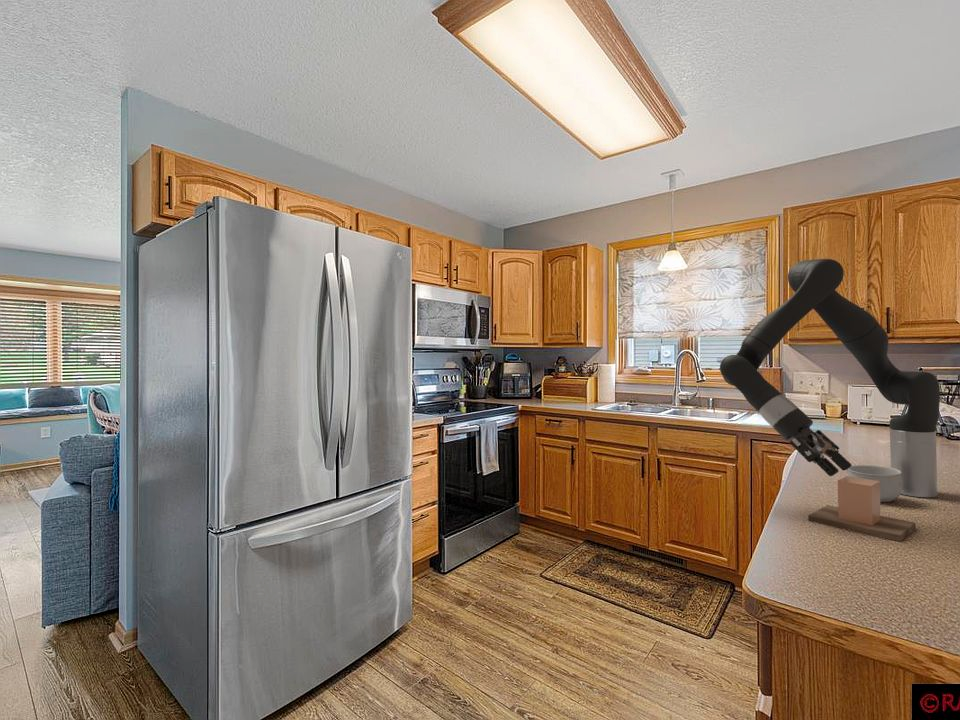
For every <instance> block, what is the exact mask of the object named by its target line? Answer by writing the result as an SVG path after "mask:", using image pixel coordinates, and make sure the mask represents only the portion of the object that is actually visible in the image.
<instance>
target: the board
mask: <svg viewBox="0 0 960 720" xmlns="http://www.w3.org/2000/svg"><path fill="white" fill-rule="evenodd" d="M807 518H808V519H807V520H808V521H810V522H815V523H817V522H818V524H822V523H823V524H822V525H826V526H831V527H836V528H839V529H843V528H845V530H848V529H850V530H849V531H852V530H854V531H853V532H856V531H858V532H857V533H861V532H862V534H865V533H866V535H869V534H870V536H874V537H878V536H879V538H883V539H888V540H891V541H898V542H901V541H902V540H903V539H904V538H906V537H907V536H908V535H909V534H910V532H911V531H912V532H913V531H914V530H915V529H916V522H914V521H908V520H903V519H898V518H894V517H889V516H883V515H881V520H879V521H878V522H877V523H875V524H874V525H868V524H863V523H859V522H854V521H849V520H845V519H840V518H839V515H838V506H834V505H829V504H828V505H826V506H824V507H821V508H819V509H818V510H816V511H814V512H812V513H810V514H808V516H807ZM912 532H911V533H912Z"/></svg>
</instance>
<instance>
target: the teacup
mask: <svg viewBox="0 0 960 720" xmlns="http://www.w3.org/2000/svg"><path fill="white" fill-rule="evenodd" d="M851 465H852V466H851V467H850V468H848V469H847V470H846V474H847V476H848V477H855V478H861V479H868V480H874V481H880V503H888V502H892V501H894V500H895V499H898V498H899V497H900V496H901V495H902V494H901V471H899V470H897V469H894V468H891V466H890V467H889V466H884V465H877V464H876V465H875V464H854V463H851Z"/></svg>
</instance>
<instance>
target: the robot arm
mask: <svg viewBox="0 0 960 720" xmlns="http://www.w3.org/2000/svg"><path fill="white" fill-rule="evenodd" d="M844 272H845V271H844V267H843V265H842V264H841V263H840V262H838V261H837V260H836V259H832V258H818V259H816V258H815V259H807V260H801V261H799V262H796V263H794V264H793V265H792V266H791V267H790V268H789V270H788V274H787V281H788V284H789V286H790V289H791V290H792V291H793V292H794V293H793V294H792V295H791V296H790V298H789V299H787V300H786V301H785V302H784V303H782V304H781V305H780V306H778V307H777V308H776V309H774V310H772V312H769V313H768V314H767V315H766V316H764V317H763V318H762V319H761V320H760V321H759V322H758V323H757V324H756V325H755V326H754V327H753V328H752V329H751V331H750V332H749V333H748V334H747V335H746V336H745V338H744V339H743V340H742V342H741V344H740V349H739V350H738V352H736V354H730V355H727V356H725V357H723V359H722V360H721V362H720V363H719V364H720V365H719V371H720V374H721V376H722V379H723V380H724V381H725V382H726V383H727V384H728V385H730V386H733V387H735V389H737V390H738V391H739V392H740V393H741V394H742V396H743V397H744V398H745V400H746V401H747V402H748V403H749V404H750V406H752V407H753V408H754V409H755V411H757V412H758V414H760V416H761V417H762V418H763V420H765V421H766V423H768V424H769V425H770V426H771V428H773V429H774V430H775V431H776V432H777V434H778V435H780V436H781V437H782V438H783V439H784V440H785V441H788V442H789V444H790V445H791V446H792V447H793V448H794V449H795V450H796V451H797V452H798V453H799V454H800V455H801V456H802V457H803V458H804V459H805V460H806V461H807V462H808V463H813V464H816V465H817V466H818V467H820V469H821V470H823V472H824V473H826V474H827V475H828V476H829V477H833V476H834V475H837V473H839V469H841V470H842V471H847V469H848V468H850V467H851V466H852V465H851V464H852V463H851V462H849V460H848V459H846V458H845V457H844V456H843V455H842V454H841V453H840V446H838V445H837V444H835V442H834V441H832V440H831V439H830V438H829V437H828V436H827V435H825V433H823V432H822V431H821V430H820V429H817V430H815V431H813V430H812V429H811V427H812V425H813V423H814V421H813V420H812V419H811V418H810V417H809V416H808V415H807V414H806V413H805V412H804V411H803V410H802V409H800V408H799V407H798V406H797V405H796V404H795V403H794V402H792V401H791V400H790V399H789V398H788V397H786V396H785V395H784V394H782V393H781V392H780V391H779V390H778V389H777V388H776V387H775V386H774V385H773V384H771V383H769V382H768V381H767V380H766V379H765V378H764V376H762V374H761V373H760V372H759V371H758V369H759V368H760V367H761V365H762V364H763V362H764V360H765V359H766V358H767V356H768V355H770V353H771V352H772V351H773V350H774V349H775V348H776V347H777V345H778V344H779V343H780V342H781V341H782V339H784V337H785V336H786V335H787V334H788V333H789V332H790V331H791V330H792V329H793V328H794V327H795V326H796V325H797V324H798V323H799V322H800V321H801V320H802V319H803V318H804V317H805V316H807V314H809V313H810V312H811V311H812V310H814V312H815V313H817V315H818V316H819V317H820V319H822V320H823V322H824V323H825V325H827V326H828V328H829V329H830V330H831V332H833V333H834V335H835V337H837V339H838V340H839V341H840V342H841V343H842V345H844V347H845V348H846V349H847V350H848V351H849V352H850V353H851V355H853V357H854V358H855V360H857V362H858V363H859V365H861V366H862V368H863V369H864V370H865V372H866V373H867V374H868V376H869V377H870V379H871V381H872V382H873V384H874V386H875V387H876V389H877V390H878V391H879V393H880V394H881V395H882V396H883V398H884V399H885V400H887V402H890V403H893V404H897V405H906V406H907V405H908V406H907V412H906V413H904V414H902V415H899V416H895V417H893V418H890V419H889V444H890V445H889V449H890V450H889V451H890V452H889V453H890V456H889V457H890V468H894V469H897V470H899V471H901V494H900V495H903V496H909V497H910V496H911V497H915V498H916V497H918V498H937V497H938V462H937V461H938V459H937V458H938V456H937V425H938V422H939V418H940V398H941V397H940V396H941V389H940V383H939V380H938V378H937V377H936V376H935V375H934V374H932V373H931V372H927V371H917V370H916V371H912V370H911V371H906V370H905V371H904V370H903V371H902V370H900V369H899V368H897V367H896V366H895V365H894V363H893V362H891V360H890V358H889V357H888V350H889V349H888V348H889V336H888V333H887V331H886V330H885V328H883V326H882V325H881V324H880V322H879V321H878V320H877V318H875V317H874V316H873V315H872V314H871V313H870V312H868V311H867V310H866V309H863V308H862V307H861V306H859V305H857V304H856V303H854V302H853V301H850V300H849V299H847V298H845V297H844V296H843V295H842V294H841V293H839V292H838V291H837V289H838V288H839V286H840V285H841V283H842V282H843V279H844V274H845V273H844ZM828 458H830V460H831V461H832V462H833V463H834V464H835V465H836V466H837V467H839V468H837V467H836V466H835V465H834V464H833V463H832V462H831V461H830V460H829V459H828Z"/></svg>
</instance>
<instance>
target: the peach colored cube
mask: <svg viewBox="0 0 960 720" xmlns="http://www.w3.org/2000/svg"><path fill="white" fill-rule="evenodd" d="M837 499H838V500H837V507H838V515H839V518H840V519H845V520H849V521H854V522H859V523H863V524H868V525H874V524H875V523H877V522H878V521H879V520H881V516H882V515H881V502H880V481H874V480H868V479H861V478H855V477H849V476H848V475H846V476H843V478H839V479H838V480H837Z"/></svg>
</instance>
